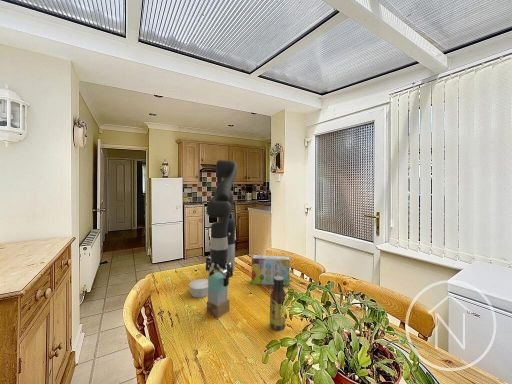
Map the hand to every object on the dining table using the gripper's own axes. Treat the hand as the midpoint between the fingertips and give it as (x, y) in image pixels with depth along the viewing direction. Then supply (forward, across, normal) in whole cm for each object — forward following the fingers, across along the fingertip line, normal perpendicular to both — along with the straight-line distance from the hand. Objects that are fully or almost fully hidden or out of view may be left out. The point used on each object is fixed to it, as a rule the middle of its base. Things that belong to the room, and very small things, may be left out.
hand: (218, 283), depth 100 cm
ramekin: (+13, -19, +6) cm, 24 cm away
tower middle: (+8, 0, 0) cm, 8 cm away
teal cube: (+3, 0, 0) cm, 3 cm away
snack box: (+13, +3, +38) cm, 40 cm away
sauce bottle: (+13, +26, +7) cm, 30 cm away
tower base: (+13, 0, 0) cm, 13 cm away
